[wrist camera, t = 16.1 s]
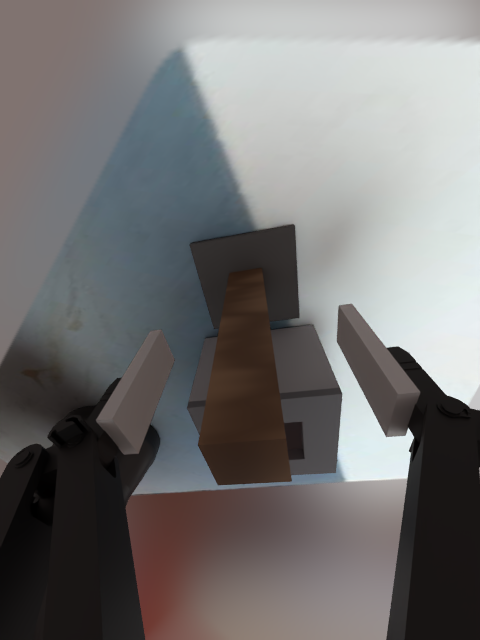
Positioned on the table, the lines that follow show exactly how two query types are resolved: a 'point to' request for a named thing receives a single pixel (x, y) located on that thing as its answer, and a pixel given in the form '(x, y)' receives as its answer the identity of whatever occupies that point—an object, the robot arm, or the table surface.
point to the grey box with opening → (292, 397)
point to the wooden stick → (244, 392)
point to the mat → (250, 253)
